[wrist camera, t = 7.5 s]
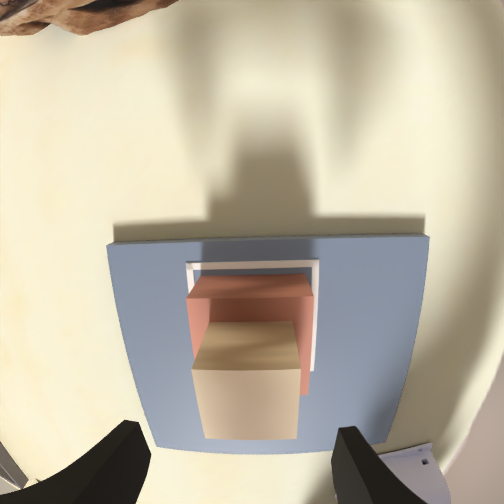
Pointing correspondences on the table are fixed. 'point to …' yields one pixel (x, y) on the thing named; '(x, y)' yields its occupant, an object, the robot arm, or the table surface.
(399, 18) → the table surface
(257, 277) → the base block
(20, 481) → the grey tray
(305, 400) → the board
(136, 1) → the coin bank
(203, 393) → the maple cube
